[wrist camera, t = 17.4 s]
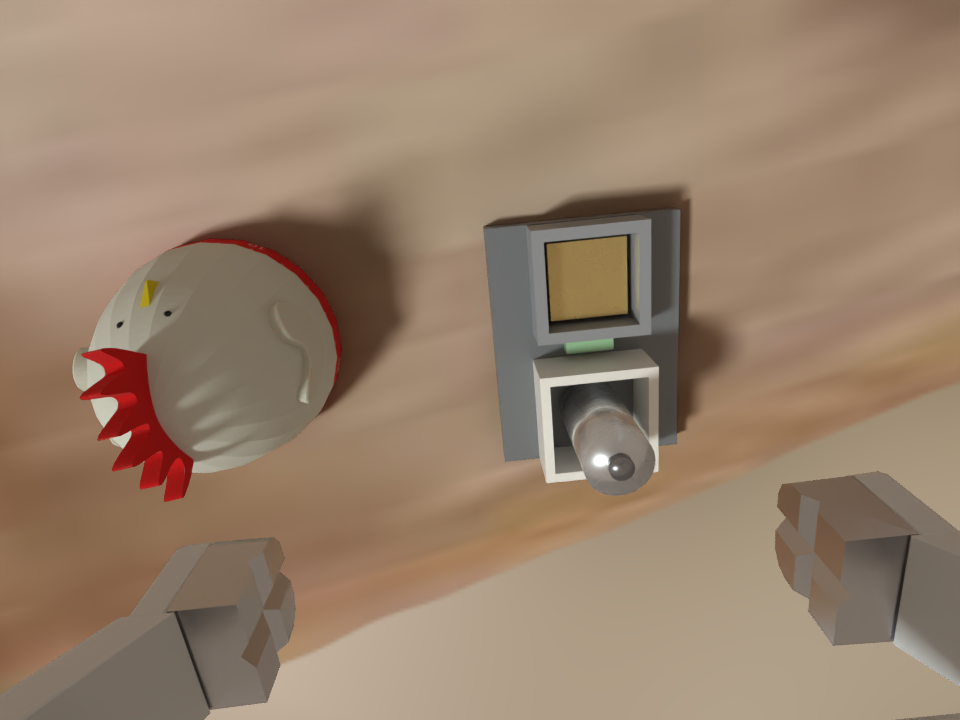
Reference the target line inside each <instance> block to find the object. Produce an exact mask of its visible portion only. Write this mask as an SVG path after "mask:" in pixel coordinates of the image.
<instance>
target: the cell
mask: <svg viewBox="0 0 960 720" xmlns="http://www.w3.org/2000/svg"><path fill="white" fill-rule="evenodd" d="M559 410H560V414H561V417H562V419H563V422H564V424H565V427H566V429H567V432H568V435H569V437H570V440H571V442H572V445H573V447H574V450H575V452H576V455H577V457H578V460H579V462H580V465H581V467H582V470H583V472H584V475H585V477H586V479H587V481H588V482H589V484H590V485H591V486H592V487H593V488H594V489H596V490H597V491H599V492H601V493H603V494H607V495H614V496H618V495H625V494H629V493H631V492H634V491H636V490H638V489H639V488H640V487H642V486H643V485H644V484H645V483H646V482H647V481H648V480H649V478H650V477H651V475H652V473H653V471H654V468H655V461H656V460H655V453H654V450H653V448H652V446H651V444H650V443H649V441H648V440H647V438H646V437H645V435H644V434H643V432H642V431H641V429H640V428H639V426H638V425H637V423H636V422H635V420H634V419H633V417H632V416H631V414H630V412H629V411H628V409H627V408H626V406H625V405H624V403H623V402H622V400H621V399H620V397H619V396H618V394H617V393H616V391H615V390H614V388H613V387H612V386H611V385H610V384H609V383H608V382H606V381H605V382H596V383H586V384H576V385H569V386H568V387H567V388H566V390H565V391H564V393H563V394H562V396H561V399H560V404H559Z"/></svg>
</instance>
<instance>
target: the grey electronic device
mask: <svg viewBox="0 0 960 720" xmlns="http://www.w3.org/2000/svg"><path fill="white" fill-rule="evenodd" d="M483 229H484V240H485V251H486V262H487V273H488V284H489V295H490V306H491V317H492V328H493V339H494V350H495V361H496V372H497V383H498V393H499V404H500V415H501V426H502V437H503V448H504V457H505V462H506V461H516V460H526V459H535V458H540V461H541V464H542V468H543V472H544V475H545V479H546V483H553V482H563V481H572V480H582V479H586V477H585V475H584V472H583V470H582V467H581V465H580V462H579V460H578V457H577V455H576V452H575V450H574V447H573V445H572V442H571V440H570V437H569V435H568V432H567V429H566V427H565V424H564V422H563V419H562V417H561V414H560V410H559V404H560V399H561V396H562V394H563V393H564V391H565V390H566V388H567V387H568V386H569V385H576V384H586V383H596V382H605V381H606V382H608V383H609V384H610V385H611V386H612V387H613V388H614V390H615V391H616V393H617V394H618V396H619V397H620V399H621V400H622V402H623V403H624V405H625V406H626V408H627V409H628V411H629V412H630V414H631V416H632V417H633V419H634V420H635V422H636V423H637V425H638V426H639V428H640V429H641V431H642V432H643V434H644V435H645V437H646V438H647V440H648V441H649V443H650V444H651V446H652V448H653V450H654V453H655V460H656V461H655V468H654V471H653V472H658V446H662V445H672V444H677V394H678V331H679V268H680V209H677V208H664V209H654V210H644V211H634V212H625V213H615V214H605V215H595V216H585V217H575V218H565V219H555V220H545V221H535V222H526V223H516V224H506V225H496V226H486V227H483ZM616 235H626V236H627V299H628V314H619V315H609V316H599V317H589V318H579V319H569V320H560V321H551V320H550V315H549V298H548V281H547V264H546V246H545V243H547V242H557V241H567V240H577V239H587V238H596V237H606V236H616Z"/></svg>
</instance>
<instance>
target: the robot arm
mask: <svg viewBox="0 0 960 720" xmlns="http://www.w3.org/2000/svg"><path fill="white" fill-rule="evenodd" d="M777 507H778V508H779V509H780V511H781V512H782V513H783V514H784V516H785V517H786V518H785V520H784V521H783V522H782V523H781V524H780V526H779V527H778V528H777V529H776V535H775V536H776V537H775V550H776V554H777V559H778V563H779V567H780V569H781V571H782V573H783V575H784V578H785V579H786V581H787V582H788V584H789V585H790V587H791V588H792V589H793V590H794V591H796V592H797V593H799V594H801V595H803V596H805V597H807V598H808V599H809V610H808V612H809V613H810V615H811V616H812V617H813V619H814V620H815V621H816V622H817V624H818V626H819V627H820V628H821V630H822V631H823V632H824V634H825V635H826V637H827V638H828V639H829V640H830V642H831V643H832V645H833V646H835V645H849V644H863V643H877V642H891V641H894V643H893V644H894V645H896V646H897V647H899V648H900V649H902V650H903V651H905V652H906V653H908V654H909V655H911V656H912V657H914V658H916V659H917V660H919V661H920V662H922V663H923V664H925V665H926V666H928V667H930V668H931V669H933V670H934V671H936V672H937V673H939V674H941V675H942V676H944V677H945V678H947V679H948V680H950V681H951V682H953V683H955V684H956V685H958V686H959V687H960V531H958V530H957V529H956V528H954V527H953V526H952V525H951V524H950V523H948V522H947V521H946V520H944V519H943V518H942V517H941V516H940V515H938V514H937V513H936V512H934V511H933V510H932V509H930V508H929V507H928V506H927V505H926V504H924V503H923V502H922V501H921V500H919V499H918V498H917V497H916V496H914V495H913V494H912V493H911V492H909V491H908V490H907V489H906V488H904V487H903V486H902V485H900V484H899V483H898V482H897V481H895V480H894V479H893V478H892V477H891V476H889V475H888V474H885V473H882V472H878V471H877V472H870V473H863V474H855V475H849V476H846V477H838V478H830V479H821V480H813V481H805V482H797V483H788V484H782V486H781V488H780V491H779V493H778V504H777ZM284 559H285V557H284V554H283V551H282V548H281V545H280V542H279V541H278V540H277V539H275V538H274V537H270V538H258V539H246V540H234V541H223V542H215V543H211V542H210V543H201V544H192V545H185V546H182V547H180V548H178V549H177V550H176V551H175V552H174V554H173V555H172V557H171V558H170V560H169V561H168V562H167V564H166V565H165V567H164V568H163V569H162V571H161V572H160V574H159V575H158V576H157V578H156V579H155V581H154V582H153V583H152V585H151V586H150V588H149V589H148V590H147V592H146V593H145V595H144V596H143V597H142V599H141V600H140V602H139V603H138V604H137V606H136V607H135V609H134V610H133V611H132V613H131V614H130V616H129V617H124V618H118V619H116V620H115V621H113V622H112V623H110V624H109V625H107V626H106V627H104V628H102V629H101V630H99V631H98V632H96V633H95V634H93V635H92V636H90V637H89V638H87V639H85V640H84V641H82V642H81V643H79V644H78V645H76V646H75V647H73V648H72V649H70V650H68V651H67V652H65V653H64V654H62V655H61V656H59V657H58V658H56V659H55V660H53V661H52V662H50V663H48V664H47V665H45V666H44V667H42V668H41V669H39V670H38V671H36V672H35V673H33V674H31V675H30V676H28V677H27V678H25V679H24V680H22V681H21V682H19V683H18V684H16V685H15V686H13V687H11V688H10V689H8V690H7V691H5V692H4V693H2V694H1V695H0V720H204V719H205V718H206V717H207V716H208V715H209V714H210V710H212V709H220V708H228V707H235V706H243V705H251V704H258V703H266V702H267V701H268V698H269V695H270V692H271V690H272V687H273V684H274V682H275V679H276V676H277V673H278V671H279V668H280V662H279V658H278V655H277V652H278V651H279V650H280V649H281V648H282V647H283V646H285V645H286V644H287V643H288V642H289V639H290V636H291V633H292V630H293V627H294V618H295V609H296V608H295V597H294V591H293V587H292V583H291V581H290V580H289V579H288V578H287V577H286V576H284V575H283V574H282V573H281V572H280V569H281V567H282V564H283V562H284ZM897 720H960V713H956V714H946V715H937V716H927V717H918V718H908V719H897Z"/></svg>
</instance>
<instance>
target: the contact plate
mask: <svg viewBox="0 0 960 720" xmlns="http://www.w3.org/2000/svg"><path fill="white" fill-rule="evenodd" d="M545 246H546V264H547V281H548V298H549V315H550V320H551V321H560V320H569V319H579V318H589V317H599V316H609V315H619V314H628V299H627V236H626V235H616V236H606V237H596V238H587V239H577V240H567V241H557V242H547V243H545Z"/></svg>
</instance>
